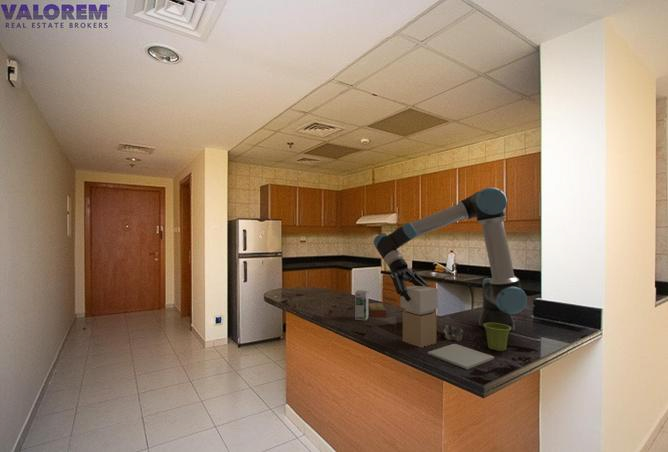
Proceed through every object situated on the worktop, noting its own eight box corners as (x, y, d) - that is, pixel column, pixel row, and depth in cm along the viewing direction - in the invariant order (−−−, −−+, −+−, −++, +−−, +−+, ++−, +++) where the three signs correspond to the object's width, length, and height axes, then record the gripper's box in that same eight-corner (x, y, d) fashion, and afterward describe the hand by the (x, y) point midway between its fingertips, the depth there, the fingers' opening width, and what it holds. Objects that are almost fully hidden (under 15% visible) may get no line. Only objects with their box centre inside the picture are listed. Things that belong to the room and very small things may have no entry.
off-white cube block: (417, 307, 139) (417, 285, 139) (437, 312, 130) (437, 288, 130) (400, 310, 133) (400, 287, 133) (420, 316, 124) (420, 291, 124)
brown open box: (418, 337, 138) (418, 308, 138) (436, 343, 130) (436, 313, 130) (402, 341, 132) (402, 311, 133) (420, 347, 125) (420, 316, 125)
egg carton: (462, 342, 132) (462, 332, 132) (442, 339, 135) (442, 330, 135) (463, 335, 142) (463, 325, 142) (445, 332, 145) (445, 323, 145)
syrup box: (354, 319, 164) (354, 291, 164) (358, 317, 170) (358, 289, 170) (365, 321, 162) (365, 292, 162) (368, 318, 168) (368, 290, 168)
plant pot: (502, 344, 129) (502, 322, 129) (516, 353, 120) (516, 329, 120) (479, 344, 129) (479, 322, 129) (491, 353, 120) (491, 329, 120)
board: (454, 345, 127) (454, 343, 127) (494, 358, 114) (494, 356, 114) (427, 354, 118) (427, 351, 118) (467, 369, 105) (467, 367, 105)
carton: (381, 310, 186) (381, 302, 186) (386, 317, 170) (386, 309, 170) (367, 310, 186) (367, 302, 186) (370, 317, 170) (370, 309, 170)
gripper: (409, 267, 151) (437, 306, 138) (372, 270, 138) (399, 314, 125) (418, 256, 147) (448, 296, 133) (380, 258, 134) (409, 303, 120)
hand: (424, 305), depth 129 cm, fingers closed on off-white cube block, 10 cm apart
